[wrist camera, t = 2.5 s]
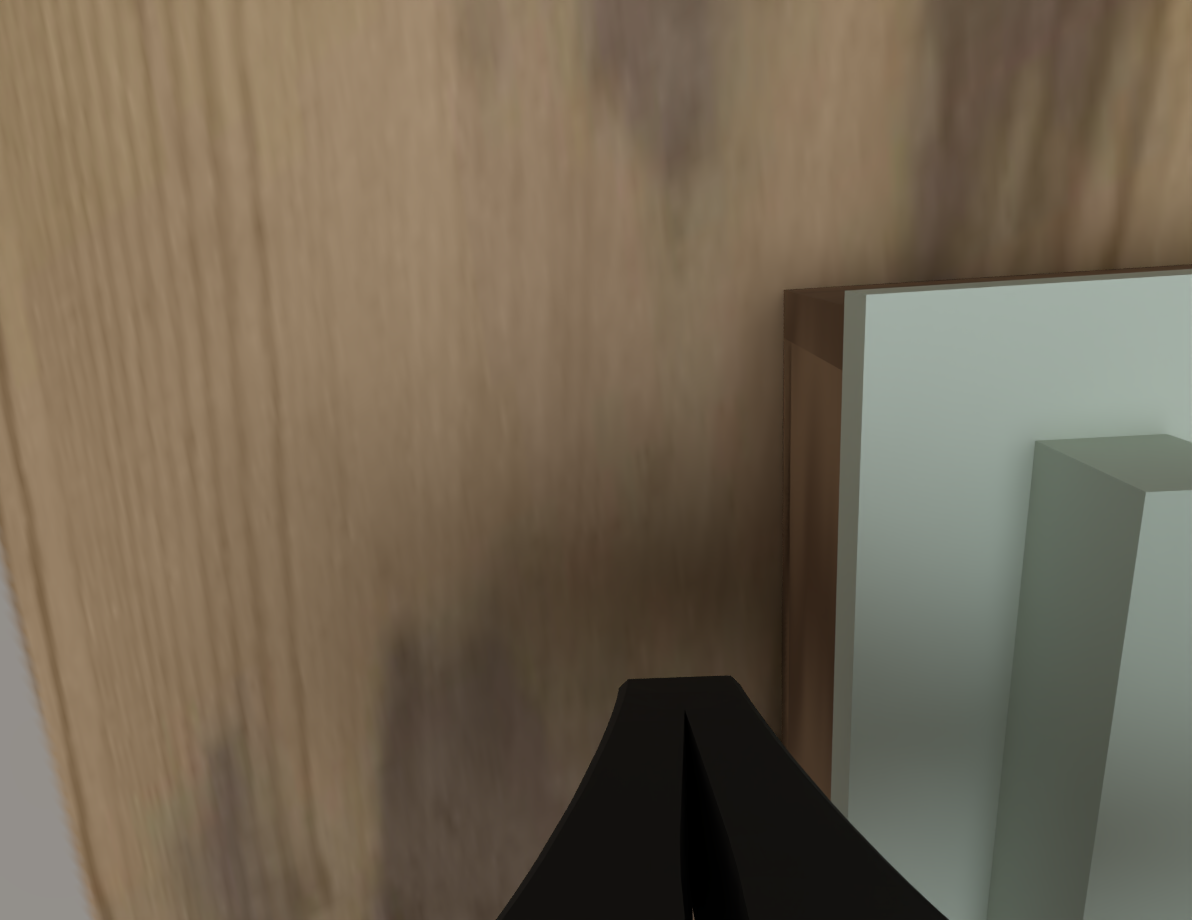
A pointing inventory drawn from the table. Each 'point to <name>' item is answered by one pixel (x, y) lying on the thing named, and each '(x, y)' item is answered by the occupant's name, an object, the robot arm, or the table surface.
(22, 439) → the table surface
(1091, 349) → the lid
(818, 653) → the walnut box
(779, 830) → the robot arm
